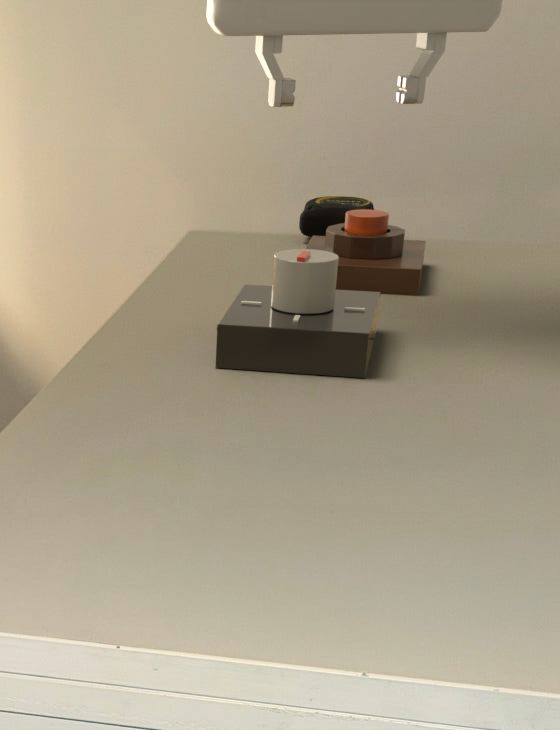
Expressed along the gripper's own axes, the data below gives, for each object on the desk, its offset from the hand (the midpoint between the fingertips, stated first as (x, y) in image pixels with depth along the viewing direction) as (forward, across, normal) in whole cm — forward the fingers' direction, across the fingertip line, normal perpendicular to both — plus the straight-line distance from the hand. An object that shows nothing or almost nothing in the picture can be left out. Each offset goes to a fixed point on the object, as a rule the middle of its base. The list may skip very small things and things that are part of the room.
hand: (345, 104), depth 93 cm
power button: (+12, +7, +13) cm, 19 cm away
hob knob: (+12, -5, -8) cm, 15 cm away
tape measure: (+16, +9, +28) cm, 33 cm away
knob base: (+15, -5, -8) cm, 18 cm away
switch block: (+15, +7, +13) cm, 21 cm away
